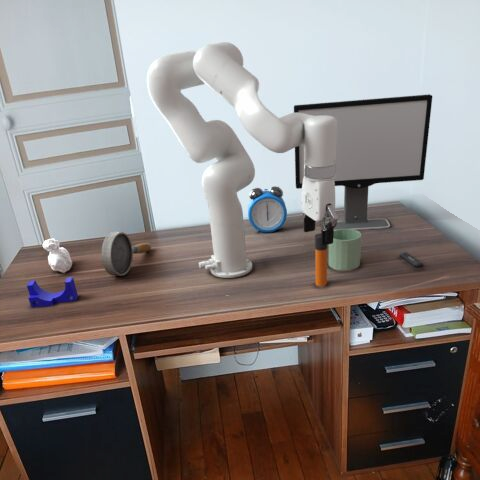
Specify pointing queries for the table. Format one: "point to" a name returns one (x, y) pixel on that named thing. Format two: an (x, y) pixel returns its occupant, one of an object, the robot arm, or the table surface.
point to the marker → (320, 261)
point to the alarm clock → (267, 209)
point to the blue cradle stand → (51, 294)
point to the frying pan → (120, 253)
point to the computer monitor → (372, 148)
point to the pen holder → (345, 249)
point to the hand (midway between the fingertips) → (317, 237)
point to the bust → (57, 256)
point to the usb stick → (411, 260)
